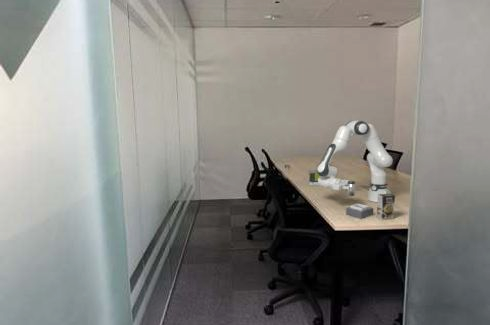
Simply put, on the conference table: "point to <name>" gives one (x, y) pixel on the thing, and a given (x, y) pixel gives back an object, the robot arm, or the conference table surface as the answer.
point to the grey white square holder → (359, 211)
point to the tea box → (313, 177)
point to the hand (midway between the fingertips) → (352, 187)
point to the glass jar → (351, 188)
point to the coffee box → (385, 206)
